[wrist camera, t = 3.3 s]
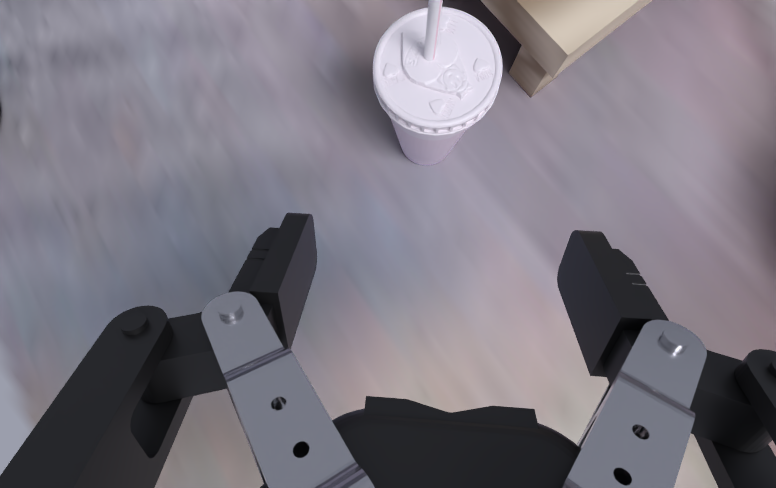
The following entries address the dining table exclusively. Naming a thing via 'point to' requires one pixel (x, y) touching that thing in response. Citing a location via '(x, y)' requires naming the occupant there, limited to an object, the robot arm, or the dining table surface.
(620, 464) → the robot arm
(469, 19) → the smoothie
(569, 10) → the low wooden platform
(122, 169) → the dining table surface
